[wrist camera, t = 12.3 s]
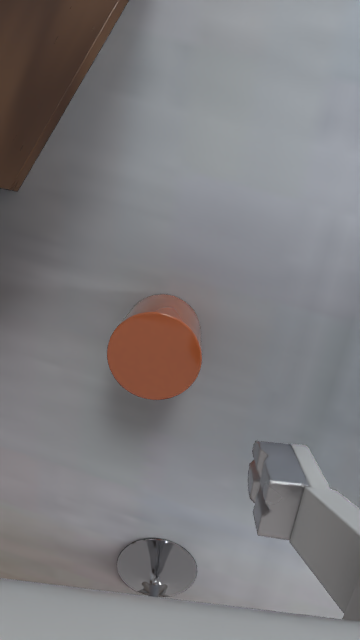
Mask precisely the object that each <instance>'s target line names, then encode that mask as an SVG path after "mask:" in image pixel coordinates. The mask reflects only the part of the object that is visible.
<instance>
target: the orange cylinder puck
mask: <svg viewBox="0 0 360 640" xmlns="http://www.w3.org/2000/svg"><path fill="white" fill-rule="evenodd" d="M107 359H108V364H109V367H110V370H111V372H112V374H113V376H114V378H115V379H116V380H117V382H118V383H119V384H120V385H121V386H122V387H123V388H124V389H126V390H127V391H129V392H130V393H132V394H134V395H136V396H138V397H142V398H145V399H151V400H162V399H168V398H172V397H174V396H177V395H179V394H181V393H182V392H184V391H185V390H186V389H188V388H189V387H190V386H191V385H192V384H193V382H194V381H195V380H196V378H197V376H198V374H199V371H200V368H201V364H202V348H201V327H200V322H199V319H198V317H197V315H196V313H195V312H194V310H193V309H192V308H191V307H190V305H188V304H187V303H186V302H185V301H183V300H181V299H179V298H177V297H175V296H171V295H165V294H159V295H152V296H149V297H146V298H144V299H142V300H141V301H139V302H138V303H137V304H136V305H135V306H134V307H133V308H132V309H131V311H130V312H129V313H128V314H127V316H126V317H125V318H124V319H123V320H122V322H121V323H120V324H119V325H118V327H117V328H116V329H115V330H114V332H113V334H112V335H111V337H110V340H109V343H108V348H107Z"/></svg>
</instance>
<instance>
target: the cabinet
mask: <svg viewBox="0 0 360 640" xmlns="http://www.w3.org/2000/svg"><path fill="white" fill-rule="evenodd" d="M128 1H129V0H0V188H4V189H8V190H13V191H18V190H19V188H20V186H21V185H22V183H23V181H24V180H25V178H26V176H27V174H28V173H29V171H30V169H31V168H32V166H33V164H34V162H35V161H36V159H37V157H38V156H39V154H40V152H41V150H42V149H43V147H44V145H45V144H46V142H47V140H48V138H49V137H50V135H51V133H52V132H53V130H54V128H55V126H56V125H57V123H58V121H59V120H60V118H61V116H62V114H63V113H64V111H65V109H66V107H67V106H68V104H69V102H70V101H71V99H72V97H73V95H74V94H75V92H76V90H77V89H78V87H79V85H80V83H81V82H82V80H83V78H84V77H85V75H86V73H87V71H88V70H89V68H90V66H91V65H92V63H93V61H94V59H95V58H96V56H97V54H98V53H99V51H100V49H101V47H102V46H103V44H104V42H105V41H106V39H107V37H108V35H109V34H110V32H111V30H112V28H113V27H114V25H115V23H116V22H117V20H118V18H119V16H120V15H121V13H122V11H123V10H124V8H125V6H126V4H127V3H128Z"/></svg>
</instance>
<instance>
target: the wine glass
mask: <svg viewBox="0 0 360 640" xmlns="http://www.w3.org/2000/svg"><path fill="white" fill-rule="evenodd" d="M117 569H118V573H119V575H120V577H121V579H122V580H123V581H124V582H125V583H126V585H128V586H129V587H130V588H132V589H133V590H135V591H137V592H139V593H142V594H145V595H148V596H153V597H169V596H174V595H177V594H180V593H182V592H184V591H185V590H187V589H188V588H189V587H190V586H191V585H192V584H193V583H194V581H195V579H196V576H197V565H196V562H195V560H194V558H193V557H192V555H191V554H190V553H189V552H188V551H187V550H186V549H184V548H183V547H181V546H180V545H178V544H176V543H173V542H171V541H167V540H162V539H143V540H139V541H136V542H134V543H131V544H130V545H128V546H127V547H125V548H124V549H123V550H122V551H121V553H120V555H119V557H118V560H117Z"/></svg>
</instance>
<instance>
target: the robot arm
mask: <svg viewBox="0 0 360 640" xmlns="http://www.w3.org/2000/svg"><path fill="white" fill-rule="evenodd" d="M252 453H253V457H254V460H253V461H252V462H251V463H250V464H249V470H248V491H249V496H250V499H251V500H252V501H253V502H254V503H255V505H254V509H253V515H254V520H255V525H256V529H257V534H258V536H265V537H271V538H278V539H285V540H290V543H291V545H292V546H293V547H294V549H295V550H296V551H297V553H298V554H299V555H300V556H301V558H302V559H303V560H304V562H305V563H306V564H307V566H308V567H309V568H310V570H311V571H312V572H313V574H314V575H315V576H316V577H317V579H318V580H319V581H320V583H321V584H322V585H323V587H324V588H325V589H326V591H327V592H328V593H329V595H330V596H331V597H332V599H333V600H334V601H335V602H336V604H337V605H338V606H339V608H340V609H341V610H342V612H343V613H344V616H343V618H342V619H334V618H326V617H318V616H310V615H301V614H293V613H285V612H277V611H269V610H260V609H252V608H244V607H236V606H228V605H219V604H211V603H203V602H194V601H186V600H178V599H169V598H161V597H153V596H144V595H136V594H128V593H119V592H111V591H103V590H94V589H86V588H78V587H70V586H62V585H53V584H45V583H37V582H29V581H21V580H12V579H4V578H0V640H360V508H358V507H357V506H356V505H355V504H353V503H352V502H351V501H349V500H348V499H347V498H346V497H344V496H343V495H342V494H341V493H339V492H338V491H337V490H331V488H330V487H329V485H328V483H327V481H326V479H325V477H324V475H323V473H322V472H321V470H320V468H319V466H318V464H317V462H316V460H315V458H314V457H313V455H312V453H311V451H310V449H309V447H308V446H306V445H301V444H283V443H274V442H265V441H255V443H254V445H253V450H252Z"/></svg>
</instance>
